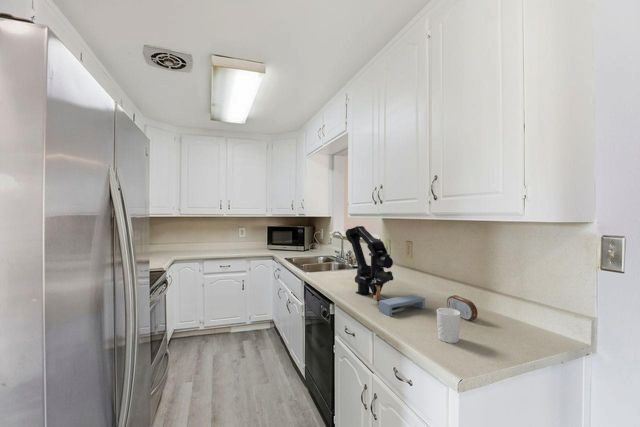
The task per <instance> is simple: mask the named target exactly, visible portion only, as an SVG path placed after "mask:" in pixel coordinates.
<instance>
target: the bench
mask: <svg viewBox="0 0 640 427" xmlns="http://www.w3.org/2000/svg"><path fill="white" fill-rule="evenodd" d="M425 300H426V298H425V297H424V296H420V295H418V294H415V293H414V294H413V293H412V294H408V295H402V296H398V297H397V296H396V297H392V298H387V299H385V300H378V312H379V313H381V314H384V315H386V316H387V317H392V316H393V309H392V308H394V307H397V308H400V307H402V306H407V305H411V306H414V307H416V308H419V309H421V310H424V309H425V308H426V306H425V304H426V302H425ZM399 306H400V307H399ZM394 309H395V308H394Z"/></svg>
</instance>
